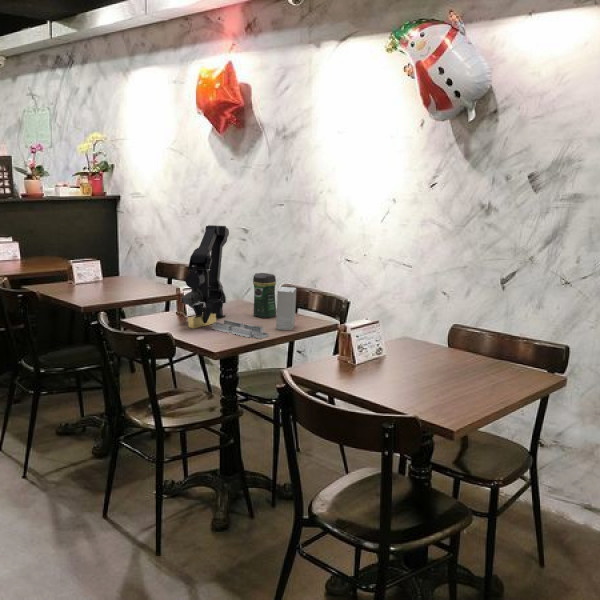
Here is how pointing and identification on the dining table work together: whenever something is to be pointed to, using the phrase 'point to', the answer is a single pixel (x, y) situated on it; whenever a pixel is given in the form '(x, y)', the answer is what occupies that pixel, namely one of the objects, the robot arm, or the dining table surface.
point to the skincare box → (286, 308)
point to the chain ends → (240, 329)
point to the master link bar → (201, 320)
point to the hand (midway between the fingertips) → (202, 322)
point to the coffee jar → (264, 295)
